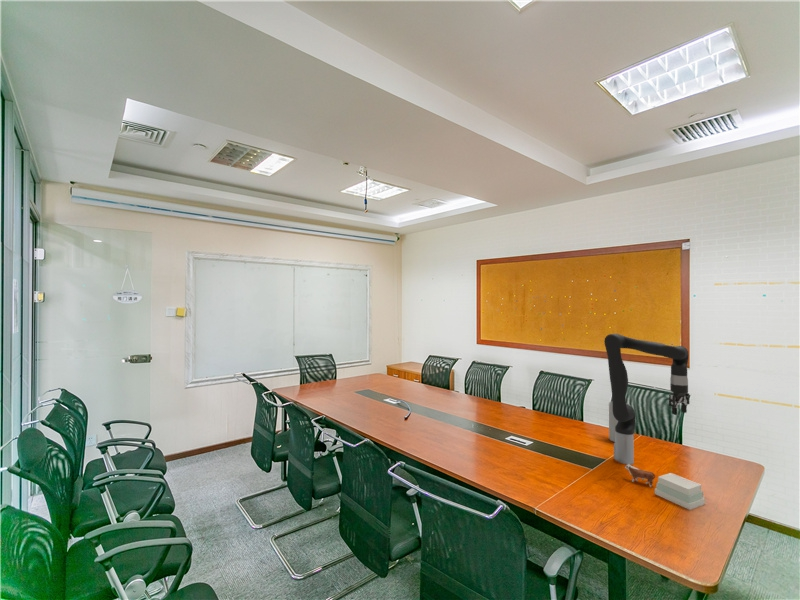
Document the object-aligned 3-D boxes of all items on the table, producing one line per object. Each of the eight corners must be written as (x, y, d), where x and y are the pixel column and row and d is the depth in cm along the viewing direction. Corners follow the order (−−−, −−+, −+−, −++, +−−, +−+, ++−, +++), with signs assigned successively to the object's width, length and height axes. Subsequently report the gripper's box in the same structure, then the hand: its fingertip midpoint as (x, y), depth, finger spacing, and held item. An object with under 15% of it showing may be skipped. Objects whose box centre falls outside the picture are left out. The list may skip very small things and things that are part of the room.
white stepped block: (654, 494, 176) (654, 476, 176) (669, 489, 181) (669, 471, 181) (690, 510, 162) (689, 490, 162) (705, 504, 167) (704, 485, 167)
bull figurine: (625, 477, 194) (625, 461, 194) (655, 486, 184) (655, 470, 184) (623, 479, 191) (623, 464, 191) (653, 489, 181) (653, 472, 181)
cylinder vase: (632, 440, 245) (632, 403, 245) (628, 446, 236) (628, 407, 236) (611, 436, 253) (611, 400, 254) (607, 441, 244) (606, 404, 244)
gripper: (679, 380, 200) (679, 410, 200) (663, 383, 194) (663, 413, 194) (694, 383, 193) (695, 413, 193) (679, 386, 188) (679, 417, 187)
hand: (679, 413), depth 194 cm, fingers open, 8 cm apart
